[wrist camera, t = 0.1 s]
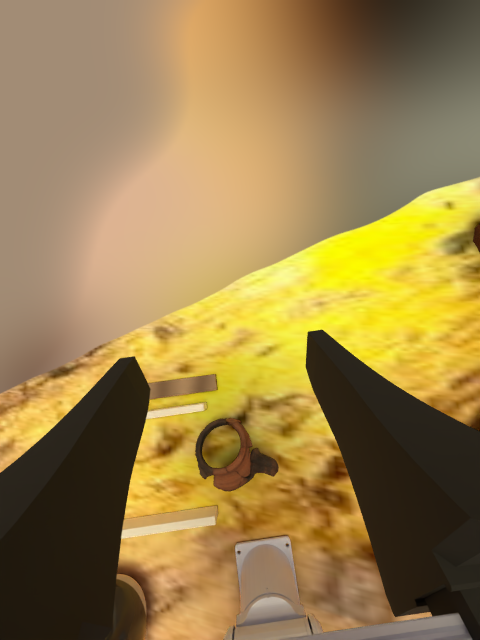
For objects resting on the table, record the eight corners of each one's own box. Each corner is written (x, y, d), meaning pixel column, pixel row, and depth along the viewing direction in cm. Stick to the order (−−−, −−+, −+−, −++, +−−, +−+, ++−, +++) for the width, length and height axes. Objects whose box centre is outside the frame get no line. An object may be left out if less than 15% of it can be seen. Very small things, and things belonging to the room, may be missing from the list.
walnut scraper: (215, 366, 42) (214, 366, 41) (218, 397, 41) (217, 397, 40) (98, 383, 42) (93, 383, 41) (98, 413, 41) (93, 415, 39)
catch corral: (217, 513, 37) (215, 524, 34) (111, 528, 37) (99, 541, 34) (206, 401, 41) (203, 403, 38) (109, 415, 40) (99, 418, 38)
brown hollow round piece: (201, 488, 38) (180, 478, 32) (215, 425, 44) (200, 407, 38) (279, 504, 35) (272, 496, 29) (283, 434, 41) (278, 415, 35)
